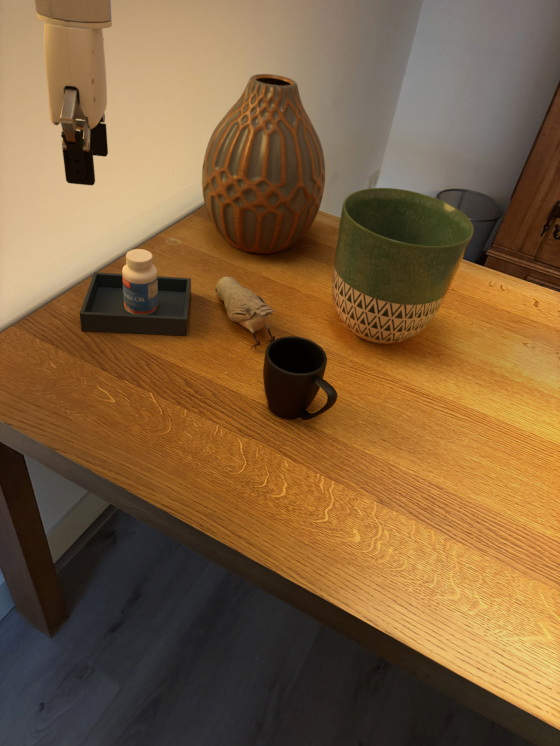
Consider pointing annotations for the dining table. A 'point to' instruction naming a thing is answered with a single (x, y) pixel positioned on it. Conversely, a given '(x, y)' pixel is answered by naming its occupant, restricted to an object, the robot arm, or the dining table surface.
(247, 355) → the dining table surface
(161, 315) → the tray
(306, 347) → the mug
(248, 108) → the vase
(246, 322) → the decorative bird
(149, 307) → the pill bottle
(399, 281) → the planter
